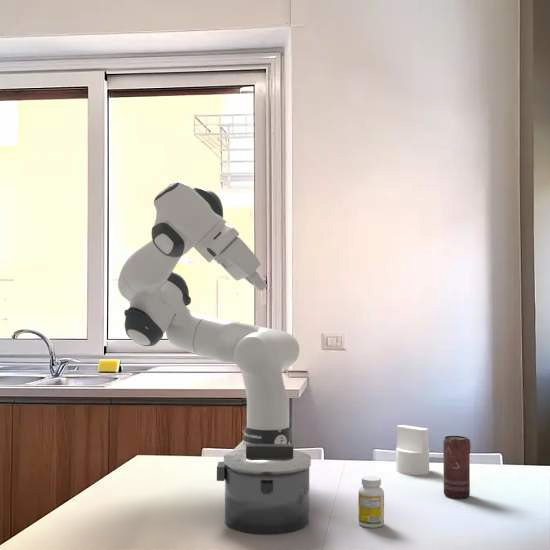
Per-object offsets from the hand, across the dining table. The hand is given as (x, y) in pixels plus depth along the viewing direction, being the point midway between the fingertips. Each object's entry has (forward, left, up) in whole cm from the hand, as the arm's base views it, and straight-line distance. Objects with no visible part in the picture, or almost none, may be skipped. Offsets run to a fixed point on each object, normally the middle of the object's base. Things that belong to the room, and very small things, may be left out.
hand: (263, 288), depth 153 cm
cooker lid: (0, +1, -38) cm, 37 cm away
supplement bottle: (+14, +18, -50) cm, 55 cm away
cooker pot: (0, +1, -49) cm, 50 cm away
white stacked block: (-15, +59, -50) cm, 79 cm away
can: (+9, +50, -50) cm, 71 cm away
